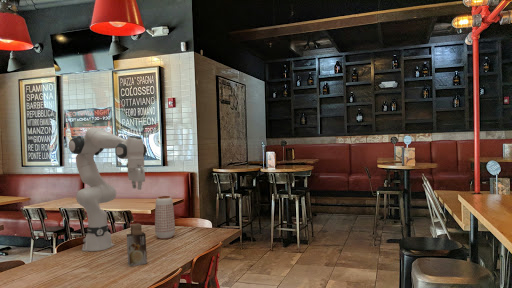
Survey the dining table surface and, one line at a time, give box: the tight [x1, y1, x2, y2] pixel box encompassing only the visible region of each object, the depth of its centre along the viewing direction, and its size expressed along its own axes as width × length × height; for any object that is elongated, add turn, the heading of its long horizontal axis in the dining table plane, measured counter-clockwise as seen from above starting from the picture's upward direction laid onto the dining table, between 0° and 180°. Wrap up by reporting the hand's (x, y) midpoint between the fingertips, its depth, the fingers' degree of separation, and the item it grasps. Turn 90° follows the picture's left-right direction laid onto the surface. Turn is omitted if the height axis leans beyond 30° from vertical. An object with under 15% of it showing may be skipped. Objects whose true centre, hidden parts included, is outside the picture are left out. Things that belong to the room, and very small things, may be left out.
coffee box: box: [126, 231, 148, 267], centre depth 199 cm, size 9×6×16 cm
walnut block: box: [130, 223, 143, 235], centre depth 199 cm, size 4×4×5 cm
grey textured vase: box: [154, 195, 176, 240], centre depth 255 cm, size 13×13×28 cm
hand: (136, 189), depth 209 cm, fingers open, 8 cm apart
